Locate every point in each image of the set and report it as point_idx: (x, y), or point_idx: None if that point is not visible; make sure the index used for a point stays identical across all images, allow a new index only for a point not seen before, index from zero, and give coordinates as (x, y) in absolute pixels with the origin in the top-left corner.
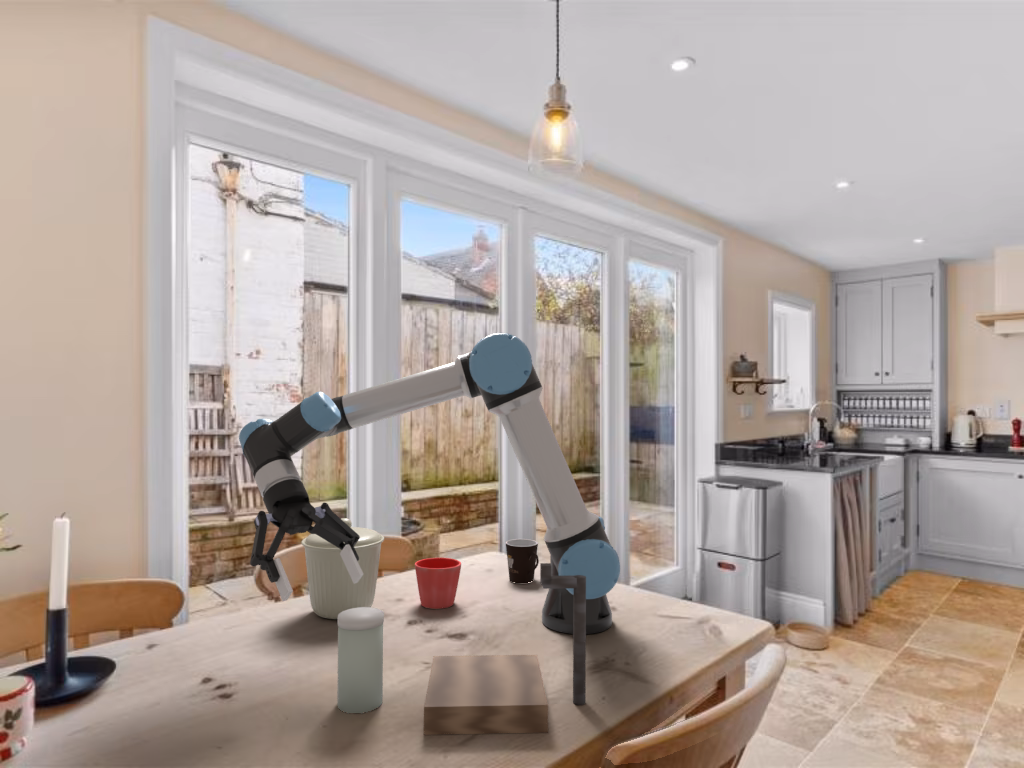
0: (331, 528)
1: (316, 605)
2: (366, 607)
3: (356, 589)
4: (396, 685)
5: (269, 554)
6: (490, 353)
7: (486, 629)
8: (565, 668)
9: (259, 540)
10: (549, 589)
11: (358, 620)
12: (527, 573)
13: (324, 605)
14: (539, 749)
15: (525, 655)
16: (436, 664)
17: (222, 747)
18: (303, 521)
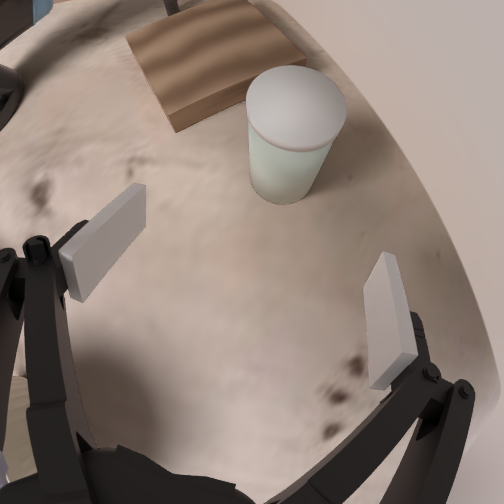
0: (34, 345)
1: None
2: (253, 116)
3: (17, 391)
4: (212, 163)
5: (430, 382)
6: None
7: (17, 176)
8: (103, 48)
9: (454, 455)
10: None
11: (326, 88)
12: None
13: None
14: (267, 8)
15: (130, 42)
16: (193, 97)
17: (437, 251)
18: (136, 491)
